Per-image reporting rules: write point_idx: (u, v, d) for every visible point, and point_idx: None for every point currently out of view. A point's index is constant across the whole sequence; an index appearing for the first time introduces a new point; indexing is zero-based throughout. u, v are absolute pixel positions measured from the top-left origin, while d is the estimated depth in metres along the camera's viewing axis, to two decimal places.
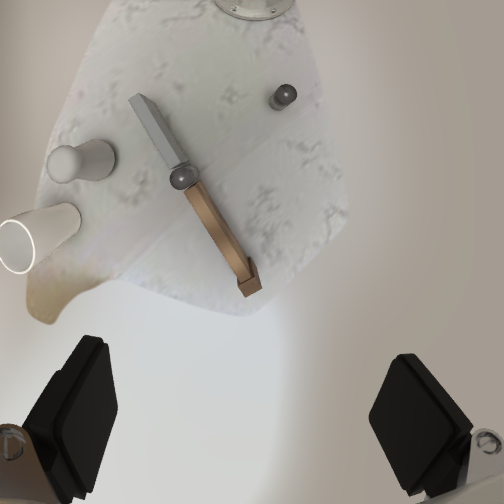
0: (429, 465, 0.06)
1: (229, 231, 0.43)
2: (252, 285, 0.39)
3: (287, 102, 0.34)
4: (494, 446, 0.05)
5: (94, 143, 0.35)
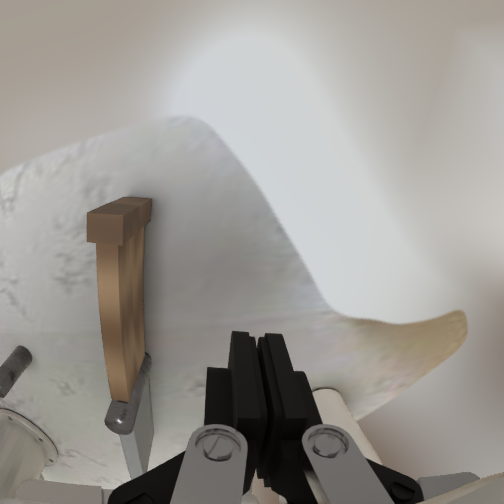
0: (269, 454, 0.07)
1: None
2: (98, 229, 0.17)
3: None
4: (336, 441, 0.06)
5: None
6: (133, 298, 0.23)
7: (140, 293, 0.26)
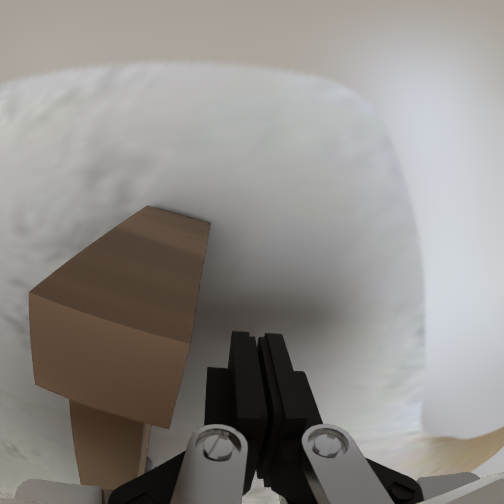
0: (269, 454, 0.07)
1: None
2: (75, 365, 0.04)
3: None
4: (336, 441, 0.06)
5: None
6: (148, 432, 0.10)
7: None
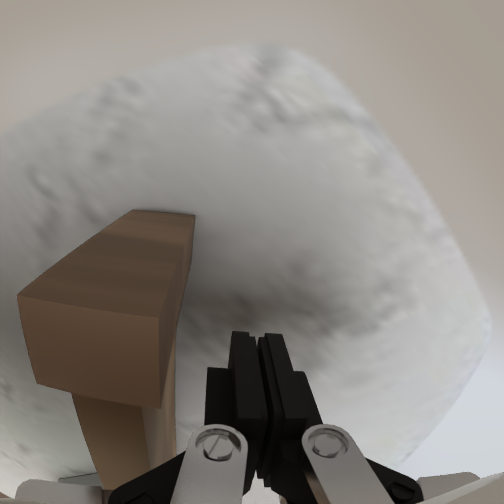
0: (269, 454, 0.07)
1: None
2: (66, 356, 0.04)
3: None
4: (336, 441, 0.06)
5: None
6: (167, 428, 0.10)
7: (172, 398, 0.13)
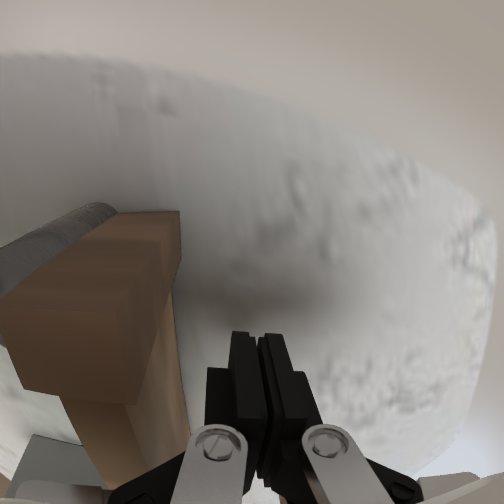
0: (269, 454, 0.07)
1: None
2: (42, 359, 0.04)
3: None
4: (336, 441, 0.06)
5: None
6: (174, 427, 0.10)
7: (180, 397, 0.13)
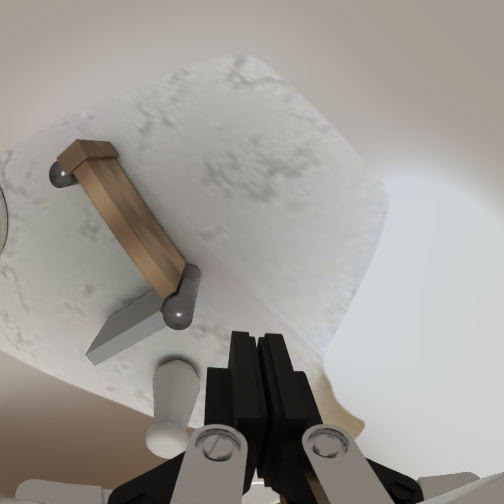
0: (269, 454, 0.07)
1: None
2: (68, 161, 0.21)
3: None
4: (336, 441, 0.06)
5: (153, 390, 0.32)
6: (134, 207, 0.27)
7: (144, 209, 0.29)
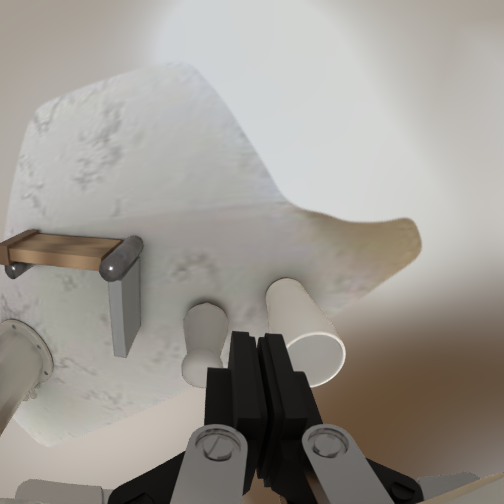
0: (269, 454, 0.07)
1: None
2: (3, 258, 0.29)
3: None
4: (336, 441, 0.06)
5: None
6: (57, 243, 0.33)
7: (70, 238, 0.35)
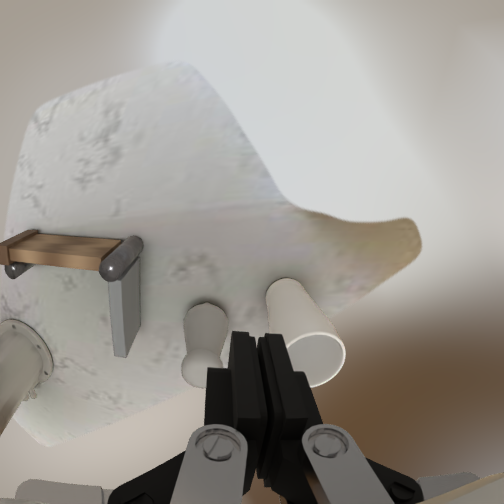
0: (269, 454, 0.07)
1: None
2: (3, 258, 0.29)
3: None
4: (336, 441, 0.06)
5: None
6: (57, 243, 0.33)
7: (70, 238, 0.35)
